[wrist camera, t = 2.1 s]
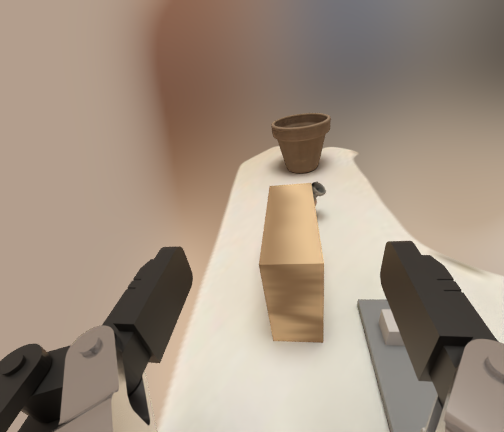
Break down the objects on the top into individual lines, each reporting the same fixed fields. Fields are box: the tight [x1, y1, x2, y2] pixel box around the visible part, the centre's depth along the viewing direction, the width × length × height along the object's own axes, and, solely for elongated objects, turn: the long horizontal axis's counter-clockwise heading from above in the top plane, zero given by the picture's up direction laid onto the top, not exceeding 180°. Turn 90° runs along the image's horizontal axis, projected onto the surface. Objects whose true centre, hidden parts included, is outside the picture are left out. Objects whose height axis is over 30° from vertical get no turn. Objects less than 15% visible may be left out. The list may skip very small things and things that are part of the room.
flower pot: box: [271, 113, 331, 173], centre depth 52 cm, size 12×11×10 cm
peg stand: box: [357, 300, 437, 432], centre depth 17 cm, size 8×15×3 cm, turn 173°
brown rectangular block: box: [259, 183, 324, 343], centre depth 25 cm, size 4×12×10 cm, turn 173°
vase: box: [312, 182, 326, 206], centre depth 37 cm, size 5×5×6 cm
